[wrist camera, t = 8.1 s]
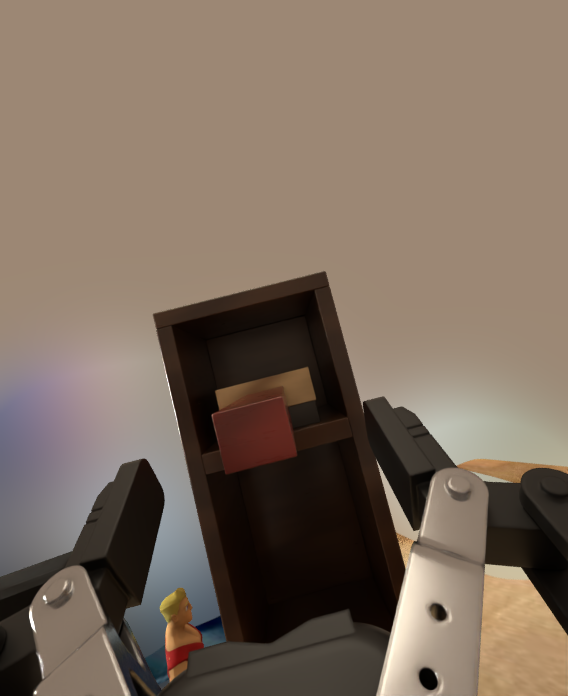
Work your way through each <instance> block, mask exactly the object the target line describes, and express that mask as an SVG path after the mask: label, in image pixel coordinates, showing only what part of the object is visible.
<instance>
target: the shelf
mask: <svg viewBox="0 0 568 696" xmlns="http://www.w3.org/2000/svg"><path fill="white" fill-rule="evenodd" d="M153 318H154V322H155V327H156V329H157V330H156V332H157V336H158V340H159V345H160V349H161V354H162V358H163V362H164V367H165V371H166V376H167V380H168V385H169V389H170V394H171V398H172V402H173V407H174V411H175V416H176V420H177V425H178V429H179V433H180V438H181V442H182V446H183V451H184V455H185V460H186V464H187V469H188V473H189V478H190V482H191V486H192V491H193V495H194V499H195V504H196V509H197V513H198V517H199V522H200V526H201V531H202V535H203V540H204V544H205V548H206V552H207V557H208V561H209V566H210V571H211V575H212V579H213V584H214V588H215V593H216V597H217V601H218V606H219V610H220V615H221V619H222V624H223V628H224V633H225V637H226V641H227V642H228V641H232V642H248V643H263V644H269V643H272V642H274V641H276V640H278V639H279V638H281V637H282V636H284V635H286V634H287V633H289V632H290V631H292V630H294V629H295V628H297V627H299V626H300V625H302V624H303V623H305V622H307V621H308V620H310V619H313V618H317V617H321V616H325V615H328V614H332V613H336V612H339V611H343V610H347V609H349V610H350V614H351V617H352V621H353V622H359V623H366V624H370V625H374V626H377V627H379V628H382V629H384V630H386V631H388V632H390V633H391V631H392V627H393V623H394V618H395V614H396V610H397V605H398V601H399V597H400V593H401V588H402V584H403V580H404V576H405V571H406V569H405V565H404V561H403V557H402V554H401V550H400V546H399V543H398V539H397V535H396V531H395V528H394V524H393V520H392V517H391V513H390V509H389V505H388V502H387V498H386V494H385V491H384V487H383V483H382V479H381V476H380V472H379V468H378V465H377V461H376V457H375V455H374V453H373V451H372V449H371V447H370V444H369V441H368V437H367V431H366V424H365V417H364V412H363V409H362V405H361V401H360V398H359V394H358V390H357V386H356V383H355V379H354V375H353V372H352V368H351V364H350V361H349V357H348V353H347V349H346V345H345V342H344V338H343V334H342V330H341V327H340V323H339V320H338V316H337V312H336V308H335V304H334V301H333V297H332V294H331V289H330V287H329V282H328V279H327V275H326V272H325V271H323V272H319V273H315V274H311V275H307V276H303V277H299V278H295V279H291V280H287V281H283V282H279V283H275V284H271V285H267V286H263V287H259V288H255V289H250V290H246V291H242V292H239V293H235V294H231V295H227V296H223V297H218V298H214V299H210V300H206V301H202V302H198V303H194V304H191V305H186V306H183V307H178V308H174V309H170V310H166V311H162V312H158V313H154V314H153ZM306 367H308V369H309V373H310V377H311V380H312V384H313V388H314V392H315V396H316V400H315V403H316V407H317V410H318V414H319V418H320V422H318V423H314V424H310V425H306V426H302V427H299V428H295V429H293V432H294V438H295V444H296V451H297V456H296V457H293V458H289V459H285V460H281V461H277V462H273V463H270V464H266V465H262V466H258V467H254V468H250V469H247V470H243V471H239V472H235V473H231V474H225V470H224V466H223V462H222V457H221V453H220V449H219V445H218V440H217V436H216V432H215V428H214V423H213V419H212V414H213V413H215V412H217V411H219V406H218V401H217V397H216V393H215V391H216V390H219V389H223V388H227V387H231V386H235V385H239V384H243V383H247V382H250V381H254V380H258V379H262V378H266V377H270V376H274V375H278V374H282V373H286V372H290V371H294V370H298V369H302V368H306Z"/></svg>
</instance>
